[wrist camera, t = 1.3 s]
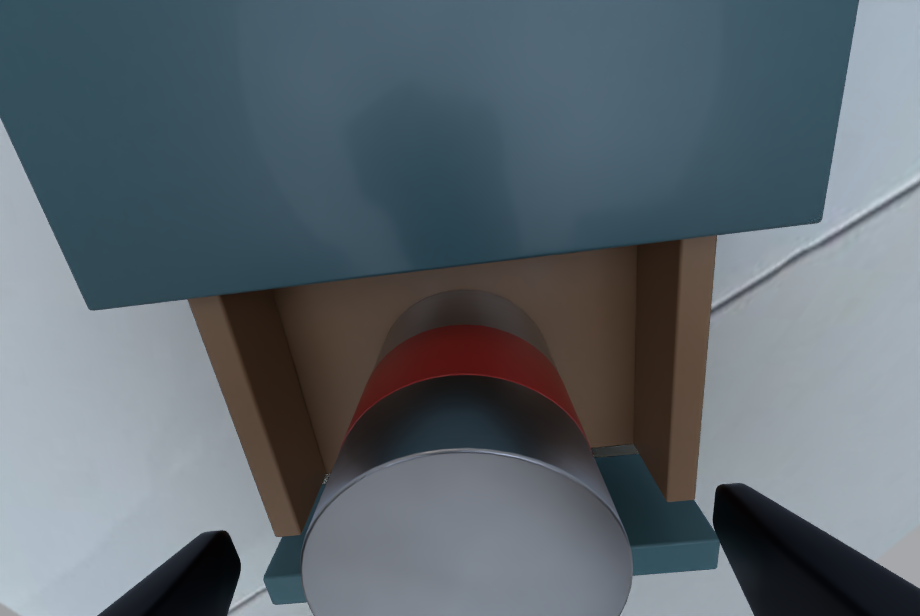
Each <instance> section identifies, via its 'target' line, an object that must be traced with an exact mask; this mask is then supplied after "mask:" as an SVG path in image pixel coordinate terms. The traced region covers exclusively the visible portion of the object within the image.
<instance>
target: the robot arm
mask: <svg viewBox="0 0 920 616" xmlns="http://www.w3.org/2000/svg"><path fill="white" fill-rule="evenodd" d="M713 525H714V529H715V532H716V535H717V537H718V539H719V541H720V544H721V546H722V548H723V550H724V552H725V554H726V556H727V558H728V561H729V563H730V565H731V567H732V569H733V571H734V573H735V575H736V578H737V580H738V582H739V584H740V586H741V588H742V590H743V593H744V595H745V597H746V599H747V601H748V603H749V605H750V607H751V610H752V612H753V614H754V616H920V588H918V587H916V586H914V585H913V584H911V583H909V582H908V581H906V580H904V579H903V578H901V577H899V576H898V575H896V574H894V573H893V572H891V571H889V570H888V569H886V568H884V567H883V566H881V565H879V564H878V563H876V562H874V561H873V560H871V559H869V558H868V557H866V556H864V555H863V554H861V553H859V552H858V551H856V550H854V549H853V548H851V547H849V546H848V545H846V544H844V543H843V542H841V541H839V540H838V539H836V538H834V537H833V536H831V535H829V534H828V533H826V532H824V531H823V530H821V529H819V528H818V527H816V526H814V525H813V524H811V523H809V522H807V521H806V520H804V519H802V518H801V517H799V516H797V515H796V514H794V513H792V512H791V511H789V510H787V509H786V508H784V507H782V506H781V505H779V504H777V503H776V502H774V501H772V500H771V499H769V498H767V497H766V496H764V495H762V494H761V493H759V492H757V491H756V490H754V489H752V488H751V487H749V486H747V485H745V484H742V483H733V484H722V485H719V486H718V487H717V489H716V492H715V502H714V512H713ZM240 571H241V563H240V559H239V556H238V554H237V551H236V549H235V547H234V544H233V542H232V540H231V537H230V535H229V533H227V532H226V531H223V530H220V531H210V532H204V533H202V534H200V535H199V536H197V537H196V538H195V539H194V540H192V541H191V542H190V543H189V544H187V545H186V546H185V547H184V548H182V549H181V550H180V551H179V552H177V553H176V554H175V555H173V556H172V557H171V558H170V559H168V560H167V561H166V562H165V563H163V564H162V565H161V566H160V567H158V568H157V569H156V570H155V571H153V572H152V573H151V574H149V575H148V576H147V577H146V578H144V579H143V580H142V581H141V582H139V583H138V584H137V585H136V586H134V587H133V588H132V589H131V590H129V591H128V592H127V593H125V594H124V595H123V596H122V597H120V598H119V599H118V600H117V601H115V602H114V603H113V604H112V605H110V606H109V607H108V608H107V609H105V610H104V611H103V612H101V613H100V614H99V615H98V616H227V614H228V611H229V607H230V604H231V601H232V598H233V595H234V592H235V589H236V586H237V582H238V579H239V576H240Z"/></svg>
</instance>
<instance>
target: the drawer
mask: <svg viewBox="0 0 920 616" xmlns="http://www.w3.org/2000/svg"><path fill="white" fill-rule="evenodd" d="M716 243H717V235H716V236H707V237H699V238H691V239H682V240H674V241H666V242H658V243H649V244H641V245H633V246H624V247H616V248H608V249H600V250H591V251H583V252H575V253H566V254H558V255H550V256H542V257H533V258H525V259H517V260H508V261H500V262H492V263H484V264H475V265H467V266H459V267H450V268H442V269H434V270H426V271H417V272H409V273H401V274H393V275H384V276H376V277H368V278H359V279H351V280H343V281H335V282H326V283H318V284H310V285H301V286H293V287H285V288H277V289H268V290H260V291H252V292H243V293H235V294H227V295H219V296H210V297H202V298H194V299H188V302H189V305H190V307H191V310H192V313H193V315H194V318H195V321H196V324H197V326H198V329H199V332H200V334H201V337H202V340H203V342H204V345H205V348H206V350H207V353H208V356H209V359H210V361H211V364H212V367H213V369H214V372H215V375H216V377H217V380H218V383H219V386H220V388H221V391H222V394H223V396H224V399H225V402H226V404H227V407H228V410H229V412H230V415H231V418H232V421H233V423H234V426H235V429H236V431H237V434H238V437H239V439H240V442H241V445H242V448H243V450H244V453H245V456H246V458H247V461H248V464H249V466H250V469H251V472H252V475H253V477H254V480H255V483H256V485H257V488H258V491H259V493H260V496H261V499H262V501H263V504H264V507H265V510H266V512H267V515H268V518H269V520H270V523H271V526H272V528H273V531H274V534H275V536H276V537H282V539H281V541H280V543H279V545H278V547H277V549H276V551H275V554H274V556H273V558H272V560H271V562H270V564H269V566H268V569H267V571H266V573H265V575H264V579H263V580H264V583H265V585H266V588H267V590H268V593H269V595H270V598H271V600H272V603H273V604H275V605H279V604H292V603H304V602H307V600H306V598H305V595H304V591H303V587H302V583H301V572H300V560H301V550H302V546H303V543H304V539H305V536H306V533H307V530H308V528H309V525H310V523H311V520H312V518H313V516H314V513H315V511H316V508H317V506H318V503H319V501H320V498H321V496H322V494H323V491H324V489H325V486H326V484H322V483H323V481H324V479H325V476H326V474H330V473H331V471H332V469H333V467H334V464H335V462H336V459H337V457H338V454H339V451H340V447H341V444H342V442H343V439H344V437H345V435H346V432H347V430H348V427H349V425H350V422H351V420H352V418H353V415H354V413H355V410H356V408H357V405H358V403H359V401H360V398H361V396H362V393H363V391H364V388H365V386H366V384H367V382H368V380H369V378H370V376H371V373H372V371H373V369H374V366H375V364H376V361H377V359H378V356H379V354H380V351H381V349H382V347H383V344H384V342H385V339H386V337H387V335H388V333H389V331H390V329H391V328H392V326H393V325H394V323H395V322H396V321H397V320H398V319H399V318H400V316H401V315H402V314H403V313H404V312H406V311H407V310H408V309H409V308H410V307H412V306H413V305H415V304H416V303H418V302H420V301H421V300H424V299H426V298H428V297H430V296H433V295H436V294H439V293H442V292H448V291H453V290H477V291H482V292H487V293H491V294H494V295H497V296H500V297H502V298H504V299H506V300H508V301H510V302H512V303H513V304H515V305H516V306H518V307H519V308H521V309H522V310H523V311H524V312H525V313H526V314H528V315H529V317H530V318H531V319H532V320H533V321H534V322H535V324H536V325H537V327H538V328H539V330H540V331H541V333H542V336H543V338H544V340H545V342H546V345H547V347H548V349H549V352H550V354H551V356H552V359H553V361H554V364H555V366H556V368H557V371H558V373H559V375H560V376H561V379H562V381H563V383H564V385H565V387H566V390H567V392H568V394H569V397H570V399H571V402H572V404H573V406H574V409H575V411H576V413H577V416H578V418H579V420H580V423H581V425H582V427H583V430H584V432H585V434H586V437H587V439H588V441H589V444H590V446H591V448H597V447H608V446H618V445H628V444H634V446H635V447H636V449H637V451H638V453H639V454H631V455H621V456H610V457H600V458H595V461H596V463H597V465H598V468H599V470H600V473H601V475H602V477H603V480H604V482H605V484H606V487H607V489H608V492H609V494H610V496H611V499H612V501H613V503H614V506H615V508H616V510H617V513H618V515H619V518H620V520H621V522H622V525H623V527H624V529H625V532H626V534H627V537H628V540H629V544H630V548H631V552H632V562H633V575H632V576H635V575H647V574H659V573H672V572H684V571H696V570H709V569H716V568H717V563H718V554H719V546H720V541H719V539H718V537H717V535H716V533H715V531H714V530H713V528H712V526H711V525H710V523H709V522H708V520H707V519H706V517H705V516H704V514H703V513H702V511H701V510H700V508H699V507H698V505H697V504H696V502H695V501H694V499H695V490H696V479H697V467H698V455H699V443H700V431H701V420H702V408H703V396H704V384H705V372H706V361H707V349H708V337H709V325H710V313H711V302H712V290H713V278H714V266H715V254H716Z"/></svg>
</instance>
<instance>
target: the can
mask: <svg viewBox="0 0 920 616" xmlns="http://www.w3.org/2000/svg"><path fill="white" fill-rule="evenodd" d="M300 572H301V583H302V587H303V591H304V595H305V598H306V600H307V603H308V605H309V607H310V609H311V611H312V613H313V615H314V616H620V614H621V612H622V610H623V608H624V606H625V604H626V602H627V599H628V596H629V592H630V589H631V584H632V575H633V562H632V552H631V548H630V544H629V540H628V537H627V534H626V532H625V529H624V527H623V525H622V522H621V520H620V518H619V515H618V513H617V510H616V508H615V506H614V503H613V501H612V499H611V496H610V494H609V492H608V489H607V487H606V484H605V482H604V480H603V477H602V475H601V473H600V470H599V468H598V465H597V463H596V461H595V458H594V456H593V453H592V449H591V446H590V444H589V441H588V439H587V437H586V434H585V432H584V430H583V427H582V425H581V423H580V420H579V418H578V416H577V413H576V411H575V409H574V406H573V404H572V402H571V399H570V397H569V394H568V392H567V390H566V387H565V385H564V383H563V381H562V379H561V376H560V375H559V373H558V371H557V368H556V366H555V364H554V361H553V359H552V356H551V354H550V352H549V349H548V347H547V345H546V342H545V340H544V338H543V336H542V333H541V331H540V330H539V328H538V327H537V325H536V324H535V322H534V321H533V320H532V319H531V318H530V317H529V315H528V314H526V313H525V312H524V311H523V310H522V309H521V308H519V307H518V306H516V305H515V304H513V303H512V302H510V301H508V300H506V299H504V298H502V297H500V296H497V295H494V294H491V293H487V292H482V291H477V290H453V291H448V292H442V293H439V294H436V295H433V296H430V297H428V298H426V299H424V300H421V301H420V302H418V303H416V304H415V305H413V306H412V307H410V308H409V309H408V310H407V311H406V312H404V313H403V314H402V315H401V316H400V318H399V319H398V320H397V321H396V322H395V323H394V325H393V326H392V328H391V329H390V331H389V333H388V335H387V337H386V339H385V342H384V344H383V347H382V349H381V351H380V354H379V356H378V359H377V361H376V364H375V366H374V369H373V371H372V373H371V376H370V378H369V380H368V382H367V384H366V386H365V388H364V391H363V393H362V396H361V398H360V401H359V403H358V405H357V408H356V410H355V413H354V415H353V418H352V420H351V422H350V425H349V427H348V430H347V432H346V435H345V437H344V439H343V442H342V444H341V447H340V451H339V454H338V457H337V459H336V462H335V464H334V467H333V469H332V471H331V474H330V476H329V479H328V481H327V484H326V486H325V489H324V491H323V494H322V496H321V498H320V501H319V503H318V506H317V508H316V511H315V513H314V516H313V518H312V520H311V523H310V525H309V528H308V530H307V533H306V536H305V539H304V543H303V546H302V550H301V560H300Z"/></svg>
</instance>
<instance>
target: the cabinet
mask: <svg viewBox="0 0 920 616" xmlns="http://www.w3.org/2000/svg"><path fill="white" fill-rule="evenodd" d="M858 3H859V0H0V118H1V120H2V122H3V124H4V126H5V129H6V131H7V133H8V135H9V137H10V139H11V142H12V144H13V146H14V148H15V150H16V152H17V155H18V157H19V159H20V161H21V163H22V166H23V168H24V170H25V172H26V174H27V176H28V179H29V181H30V183H31V185H32V187H33V189H34V192H35V194H36V196H37V198H38V200H39V202H40V205H41V207H42V209H43V211H44V213H45V215H46V218H47V220H48V222H49V224H50V226H51V228H52V231H53V233H54V235H55V237H56V239H57V241H58V244H59V246H60V248H61V250H62V252H63V255H64V257H65V259H66V261H67V263H68V265H69V268H70V270H71V272H72V274H73V276H74V278H75V281H76V283H77V285H78V287H79V289H80V291H81V294H82V296H83V298H84V300H85V302H86V304H87V307H88V308H89V309H90V310H103V309H111V308H119V307H128V306H136V305H144V304H152V303H161V302H169V301H177V300H185V299H194V298H202V297H210V296H219V295H227V294H235V293H243V292H252V291H260V290H268V289H277V288H285V287H293V286H301V285H310V284H318V283H326V282H335V281H343V280H351V279H359V278H368V277H376V276H384V275H393V274H401V273H409V272H417V271H426V270H434V269H442V268H450V267H459V266H467V265H475V264H484V263H492V262H500V261H508V260H517V259H525V258H533V257H542V256H550V255H558V254H566V253H575V252H583V251H591V250H600V249H608V248H616V247H624V246H633V245H641V244H649V243H658V242H666V241H674V240H682V239H691V238H699V237H707V236H716V235H724V234H732V233H740V232H749V231H757V230H765V229H773V228H782V227H790V226H798V225H807V224H815V223H819V222H821V220H822V216H823V210H824V204H825V198H826V192H827V187H828V181H829V175H830V169H831V163H832V157H833V151H834V145H835V139H836V133H837V127H838V121H839V115H840V109H841V104H842V98H843V92H844V86H845V80H846V74H847V68H848V62H849V56H850V50H851V44H852V38H853V32H854V27H855V21H856V15H857V9H858Z"/></svg>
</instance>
